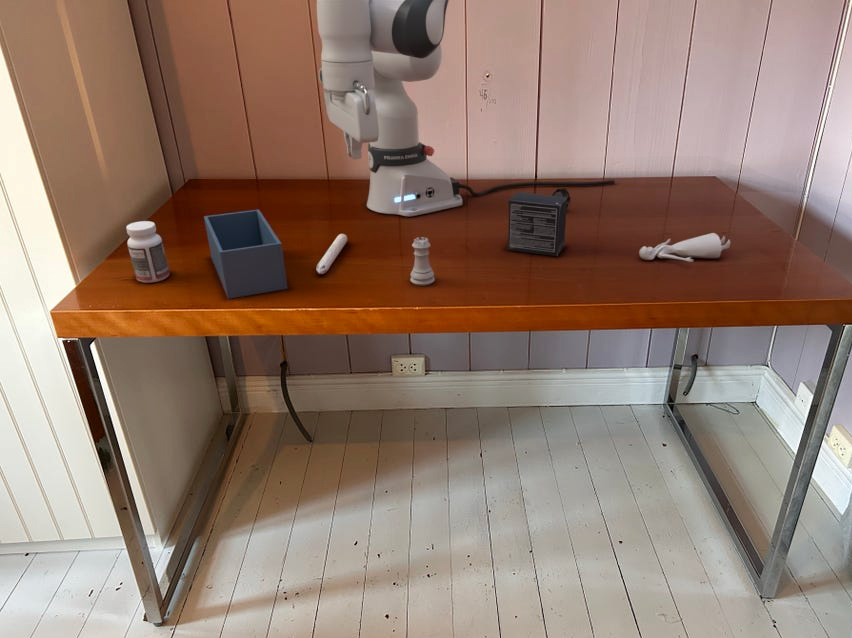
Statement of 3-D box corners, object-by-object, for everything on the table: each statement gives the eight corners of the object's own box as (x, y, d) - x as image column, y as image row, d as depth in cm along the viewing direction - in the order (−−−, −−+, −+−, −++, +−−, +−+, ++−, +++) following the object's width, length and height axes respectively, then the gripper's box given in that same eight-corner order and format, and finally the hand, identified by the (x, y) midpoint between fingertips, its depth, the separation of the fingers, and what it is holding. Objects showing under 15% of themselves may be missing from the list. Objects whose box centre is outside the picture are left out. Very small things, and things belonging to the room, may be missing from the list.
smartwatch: (568, 207, 169) (569, 186, 167) (569, 214, 165) (571, 192, 162) (550, 206, 169) (551, 185, 167) (551, 213, 165) (553, 192, 162)
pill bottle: (166, 269, 135) (154, 217, 130) (173, 279, 131) (161, 227, 126) (133, 275, 132) (120, 223, 127) (139, 286, 128) (126, 233, 123)
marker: (325, 278, 132) (323, 266, 131) (313, 278, 132) (312, 265, 131) (348, 243, 147) (347, 232, 146) (338, 243, 148) (336, 232, 146)
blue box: (265, 250, 143) (259, 209, 139) (287, 288, 128) (281, 243, 123) (211, 258, 140) (203, 216, 135) (228, 298, 124) (219, 252, 120)
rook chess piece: (414, 288, 128) (413, 245, 124) (406, 278, 132) (405, 237, 128) (438, 284, 130) (437, 242, 126) (429, 275, 133) (428, 233, 129)
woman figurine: (742, 243, 136) (650, 254, 134) (739, 264, 139) (649, 276, 137) (715, 222, 146) (629, 232, 144) (712, 243, 148) (628, 253, 147)
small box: (565, 246, 147) (569, 195, 142) (557, 257, 142) (561, 205, 136) (515, 239, 150) (517, 190, 145) (506, 250, 145) (507, 199, 139)
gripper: (385, 85, 119) (390, 169, 126) (349, 68, 135) (355, 143, 142) (348, 87, 116) (354, 173, 123) (316, 70, 132) (323, 146, 139)
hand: (354, 157), depth 132 cm, fingers closed
